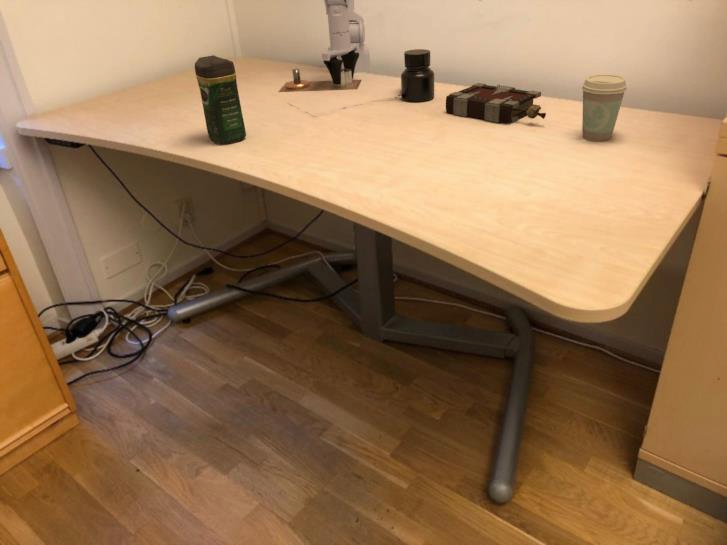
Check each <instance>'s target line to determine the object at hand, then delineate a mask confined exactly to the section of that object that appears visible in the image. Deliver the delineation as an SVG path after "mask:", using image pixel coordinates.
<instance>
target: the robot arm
mask: <svg viewBox="0 0 727 545" xmlns="http://www.w3.org/2000/svg"><path fill="white" fill-rule="evenodd" d="M323 3H324V6H325V12H326V13H325V14H326V15H327V22H328V36H329V46H330V47H328V48H327V50H326V51H324V52H321V58H322V61H323V64H324V65H325V67H326V68H327V70H328V72H329V74H330V77H331V81H333V84H337V85H339V84H340V83H341V69H351V73H352V80H354V75H355V74H357V73H362V72H366V71H371V59H370V58H371V55H370V49H369V47H368V46H367V45H366V43H365V41H366V40H365V39H366V34H365V33H366V32H365V30H366V29H365V24H364V18H363V16H362V15H361V14H359V13H358V12H357V11H355V0H323ZM364 43H365V44H364Z"/></svg>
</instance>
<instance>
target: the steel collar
mask: <svg viewBox="0 0 727 545" xmlns="http://www.w3.org/2000/svg"><path fill="white" fill-rule="evenodd" d="M341 70H346V71H345V72H341V83H340V84H339V85H337V84H335V86H336V87H347V86H351V85H352V80H353V79H352V73H351V69H341Z"/></svg>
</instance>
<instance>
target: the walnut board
mask: <svg viewBox="0 0 727 545" xmlns="http://www.w3.org/2000/svg"><path fill="white" fill-rule="evenodd" d="M288 82H289V81H287V82H285V83H284V84H283V86H281V88H280V89H279V90H278V91H277V92H278V93H290V92H291V93H293V92H296V93H297V92H317V91H318V92H319V91H348V90H352V91H353V90H358V89H359V87H360V84H361V82H362V79H352V85H351V86H347V87H336V86H335V84H333V81H332V80H318V81H316V80H314V81H309V87H307V88H303V89H296V90H292V89H287V88H286V83H288Z"/></svg>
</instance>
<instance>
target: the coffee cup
mask: <svg viewBox="0 0 727 545" xmlns="http://www.w3.org/2000/svg"><path fill="white" fill-rule="evenodd" d="M627 87H628V86H627V82H626V78H625V77H623V76H621V75H615V74H594V75H589V76H587V77H586V78H585V80H584V83H583V84H582V87H581V90H582V122H581V124H582V126H581V127H582V131H581V132H582V134H581V136H582V138H583V139H585V140H588V141H593V142H604V141H605V142H606V141H609V140H611V139H612V136H613V133H614V131H615V126H616V122H617V120H618V117H619V113H620V112H619V111H620V109H621V105H622V102H623V98H624V95H625V92H626V91H628V88H627Z"/></svg>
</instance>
